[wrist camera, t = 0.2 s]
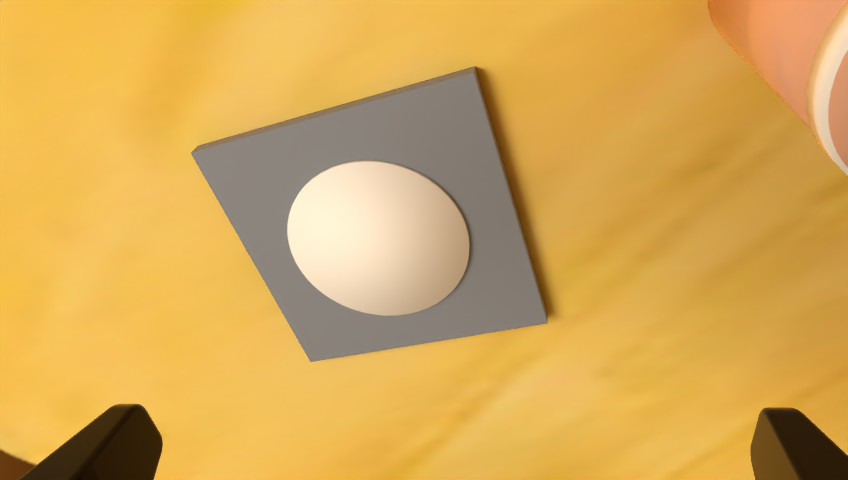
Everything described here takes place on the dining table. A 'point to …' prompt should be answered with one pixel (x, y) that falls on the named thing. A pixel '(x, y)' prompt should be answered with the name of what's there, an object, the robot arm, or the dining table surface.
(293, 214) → the card
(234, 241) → the dining table surface
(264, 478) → the dining table surface
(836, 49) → the terracotta tube
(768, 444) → the robot arm
